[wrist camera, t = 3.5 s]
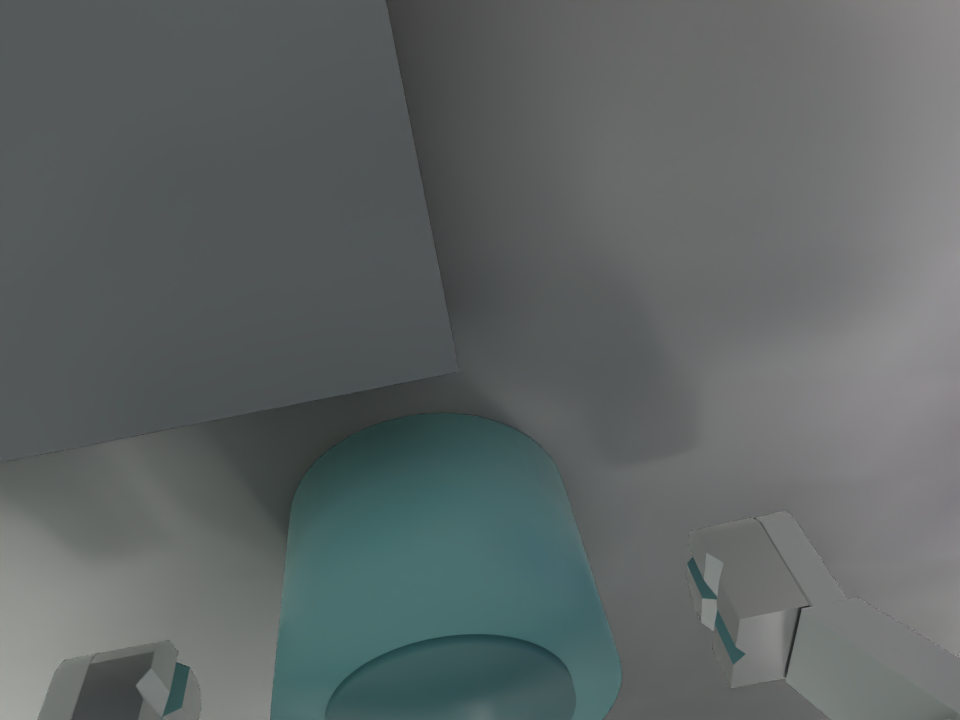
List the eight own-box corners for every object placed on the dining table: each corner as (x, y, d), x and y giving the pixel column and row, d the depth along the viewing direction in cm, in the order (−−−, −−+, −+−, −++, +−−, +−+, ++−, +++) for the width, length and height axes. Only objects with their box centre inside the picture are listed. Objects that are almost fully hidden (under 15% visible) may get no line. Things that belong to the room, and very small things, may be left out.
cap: (571, 571, 14) (629, 765, 11) (331, 621, 14) (325, 830, 11) (552, 384, 11) (623, 578, 8) (251, 444, 11) (213, 663, 8)
